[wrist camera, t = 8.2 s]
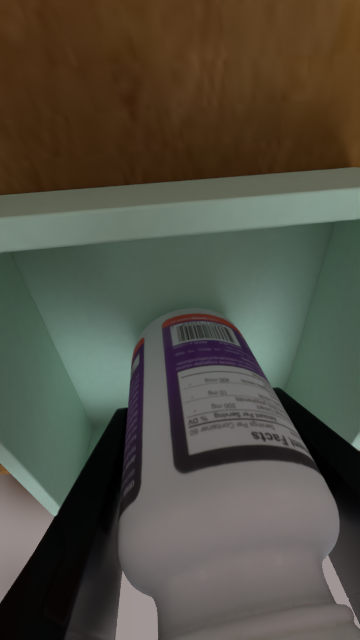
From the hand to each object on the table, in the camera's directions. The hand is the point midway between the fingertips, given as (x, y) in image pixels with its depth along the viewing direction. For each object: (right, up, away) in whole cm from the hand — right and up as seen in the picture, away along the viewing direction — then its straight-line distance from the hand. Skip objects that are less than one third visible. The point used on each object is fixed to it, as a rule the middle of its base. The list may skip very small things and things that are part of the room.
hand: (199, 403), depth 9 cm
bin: (-1, +3, +4) cm, 5 cm away
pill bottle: (0, +2, +3) cm, 3 cm away
